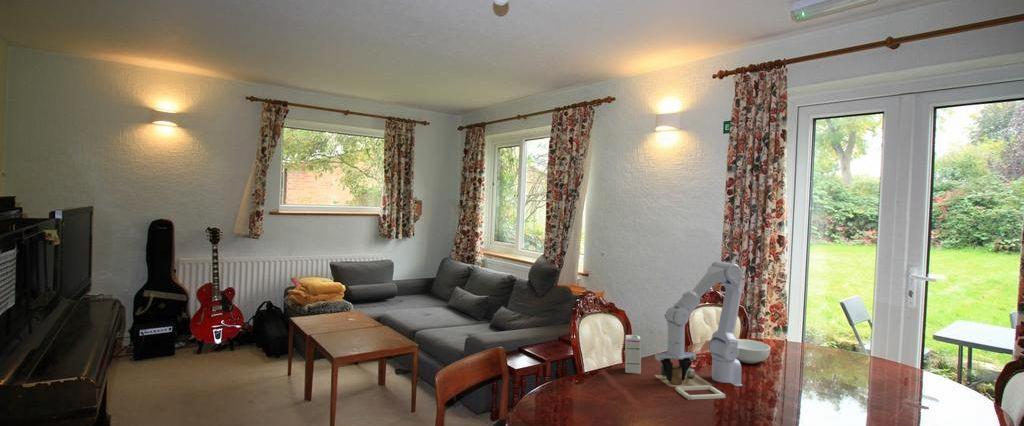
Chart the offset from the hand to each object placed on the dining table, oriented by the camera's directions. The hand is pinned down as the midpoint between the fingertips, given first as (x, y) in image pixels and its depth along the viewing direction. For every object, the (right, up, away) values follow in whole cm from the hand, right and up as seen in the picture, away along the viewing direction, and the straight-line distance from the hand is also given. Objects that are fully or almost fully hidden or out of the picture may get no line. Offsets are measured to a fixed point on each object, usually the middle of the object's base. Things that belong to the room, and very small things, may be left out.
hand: (675, 379), depth 176 cm
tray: (+5, -3, -10) cm, 12 cm away
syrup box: (-12, -3, +13) cm, 18 cm away
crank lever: (+3, -1, +5) cm, 6 cm away
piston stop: (0, -1, 0) cm, 1 cm away
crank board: (+4, -3, +3) cm, 6 cm away
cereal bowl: (+42, -3, +34) cm, 53 cm away
